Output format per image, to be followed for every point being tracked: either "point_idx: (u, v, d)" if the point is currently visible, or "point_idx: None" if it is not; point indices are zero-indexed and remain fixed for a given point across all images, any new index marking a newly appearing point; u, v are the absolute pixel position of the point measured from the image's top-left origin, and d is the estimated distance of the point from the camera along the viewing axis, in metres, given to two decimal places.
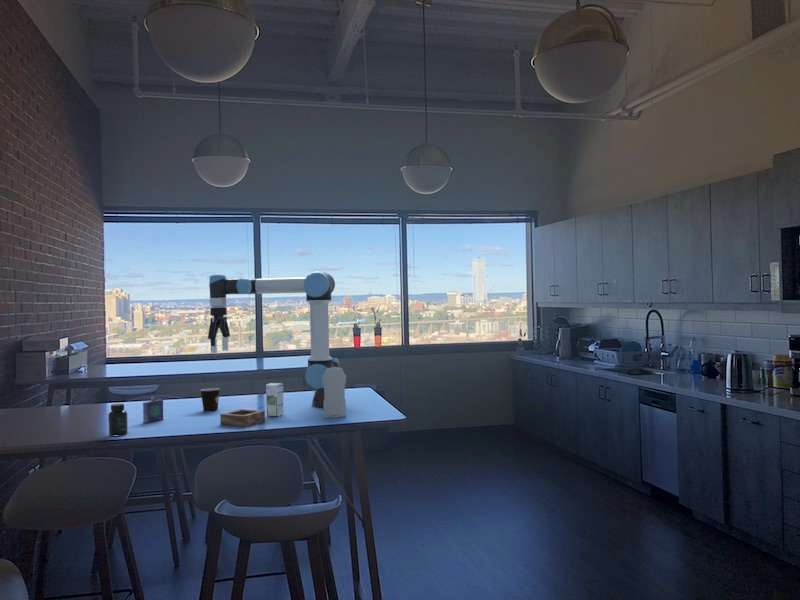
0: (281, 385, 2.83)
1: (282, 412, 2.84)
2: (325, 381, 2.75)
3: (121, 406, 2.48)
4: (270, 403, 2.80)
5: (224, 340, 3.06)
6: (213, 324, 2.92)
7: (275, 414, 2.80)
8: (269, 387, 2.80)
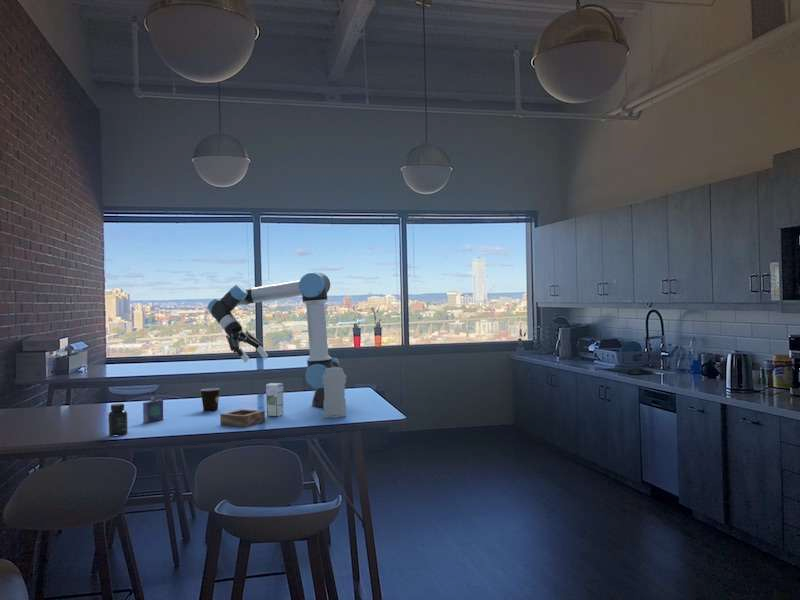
0: (281, 385, 2.83)
1: (282, 412, 2.84)
2: (325, 381, 2.75)
3: (121, 406, 2.48)
4: (270, 403, 2.80)
5: (259, 350, 2.97)
6: (230, 338, 2.87)
7: (275, 414, 2.80)
8: (269, 387, 2.80)
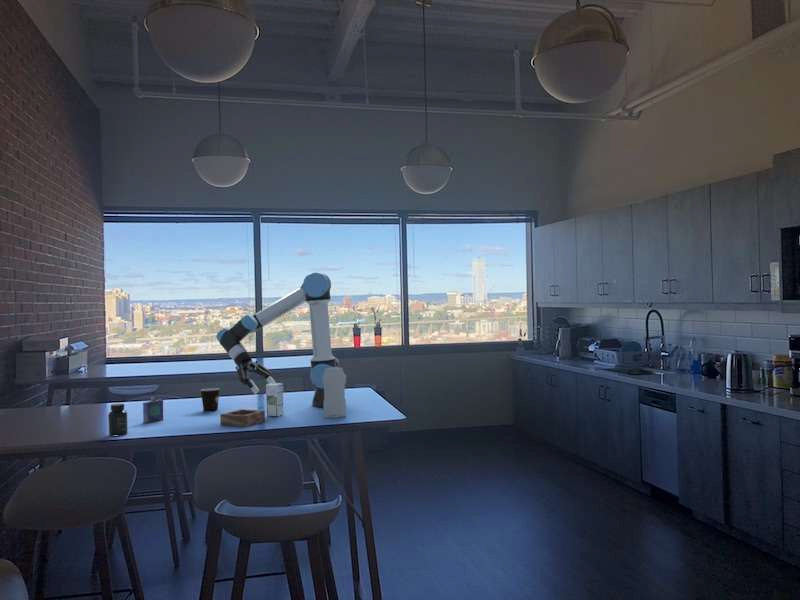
0: (281, 385, 2.83)
1: (282, 412, 2.84)
2: (325, 381, 2.75)
3: (121, 406, 2.48)
4: (270, 403, 2.80)
5: (269, 380, 2.91)
6: (239, 369, 2.81)
7: (275, 414, 2.80)
8: (269, 387, 2.80)
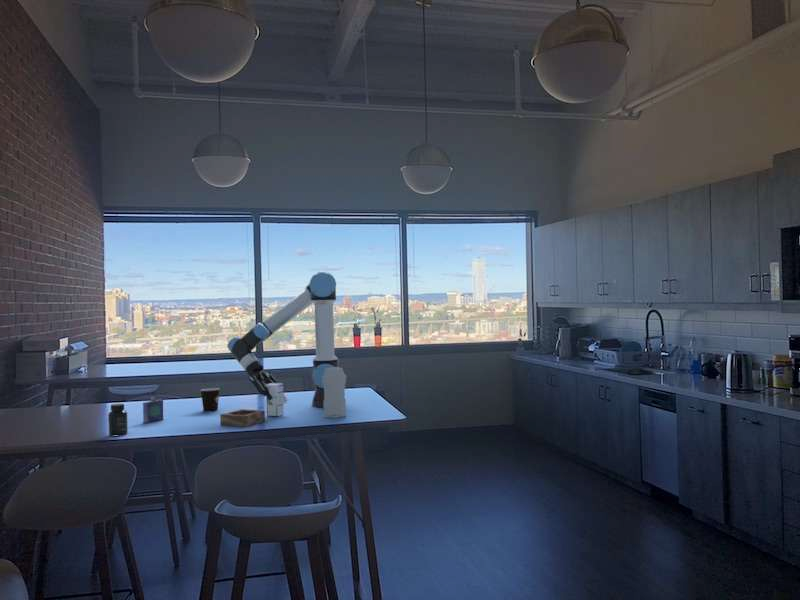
0: (281, 385, 2.83)
1: (282, 412, 2.84)
2: (325, 381, 2.75)
3: (121, 406, 2.48)
4: (270, 403, 2.80)
5: None
6: (255, 381, 2.79)
7: (275, 414, 2.80)
8: (269, 387, 2.80)
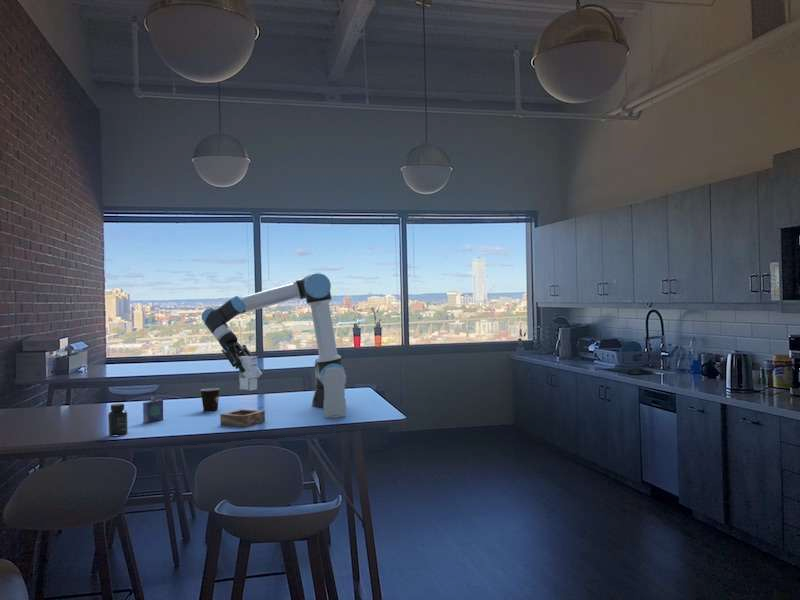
0: (255, 358, 2.72)
1: (255, 387, 2.73)
2: (325, 381, 2.75)
3: (121, 406, 2.48)
4: (242, 376, 2.69)
5: None
6: (227, 353, 2.69)
7: (247, 388, 2.69)
8: (242, 359, 2.70)
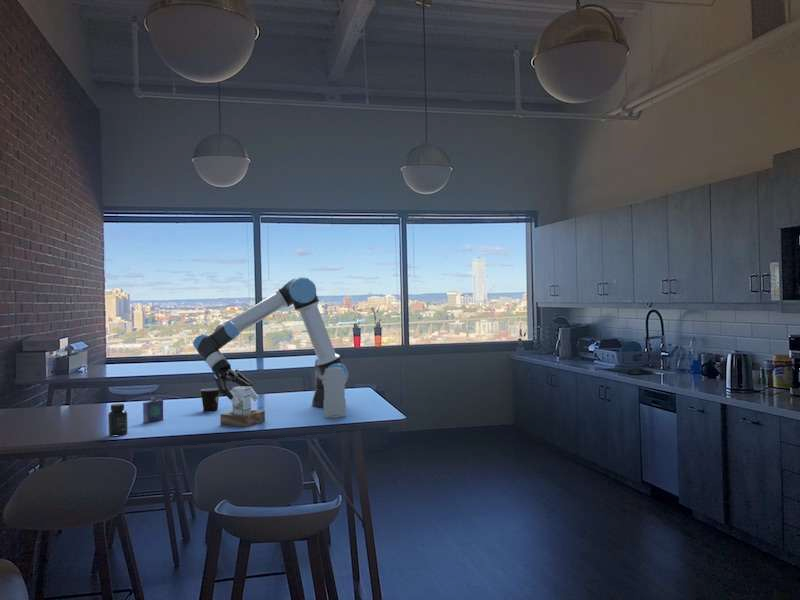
0: (248, 389, 2.67)
1: None
2: (325, 381, 2.75)
3: (121, 406, 2.48)
4: (236, 407, 2.65)
5: None
6: (218, 379, 2.64)
7: None
8: (235, 391, 2.65)
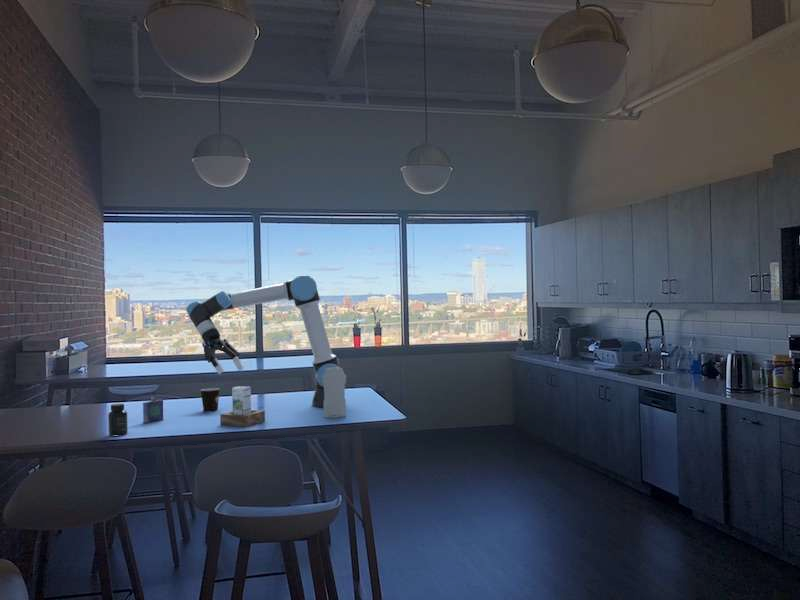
0: (248, 389, 2.67)
1: None
2: (325, 381, 2.75)
3: (121, 406, 2.48)
4: (236, 407, 2.65)
5: (235, 361, 2.83)
6: (206, 346, 2.72)
7: None
8: (235, 391, 2.65)
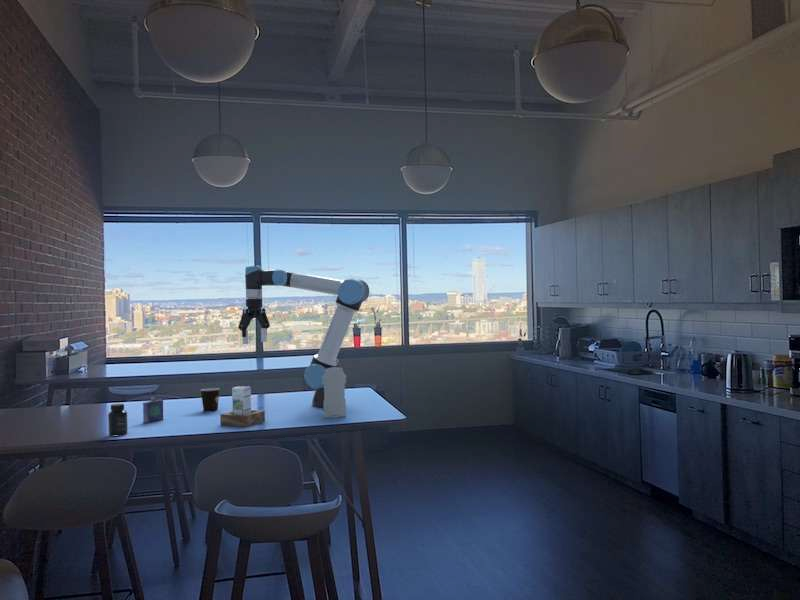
0: (248, 389, 2.67)
1: None
2: (325, 381, 2.75)
3: (121, 406, 2.48)
4: (236, 407, 2.65)
5: (263, 331, 3.05)
6: (244, 315, 2.92)
7: None
8: (235, 391, 2.65)
